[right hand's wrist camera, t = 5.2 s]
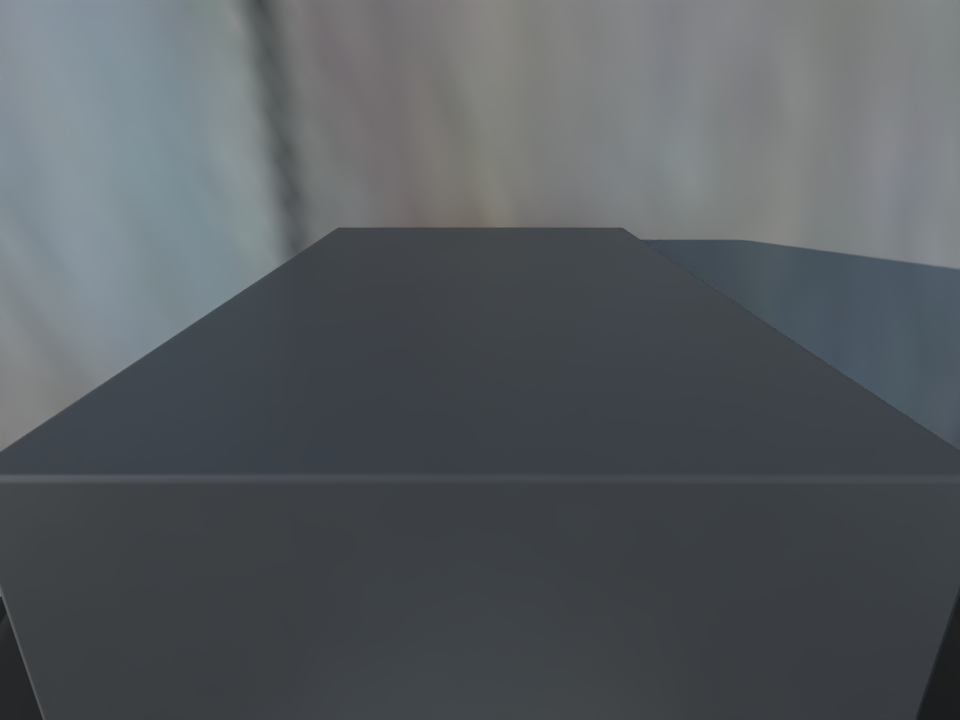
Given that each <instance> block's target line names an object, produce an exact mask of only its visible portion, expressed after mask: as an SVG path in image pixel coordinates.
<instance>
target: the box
mask: <svg viewBox="0 0 960 720" xmlns="http://www.w3.org/2000/svg"><path fill="white" fill-rule="evenodd" d="M0 593H1V596H2V599H3V602H4V605H5V608H6V611H7V614H8V617H9V620H10V623H11V626H12V629H13V632H14V635H15V638H16V641H17V644H18V647H19V650H20V653H21V656H22V659H23V662H24V665H25V668H26V671H27V674H28V677H29V680H30V683H31V685H32V688H33V691H34V694H35V697H36V700H37V703H38V706H39V709H40V712H41V715H42V718H43V720H918V718H919V715H920V712H921V709H922V706H923V703H924V700H925V697H926V694H927V691H928V688H929V685H930V682H931V679H932V676H933V673H934V670H935V667H936V664H937V661H938V658H939V655H940V652H941V649H942V646H943V643H944V641H945V638H946V635H947V632H948V629H949V626H950V623H951V620H952V617H953V614H954V611H955V608H956V605H957V602H958V599H959V596H960V451H959V450H957V449H956V448H954V447H953V446H951V445H950V444H948V443H947V442H945V441H944V440H942V439H941V438H939V437H938V436H936V435H935V434H933V433H932V432H930V431H929V430H927V429H926V428H924V427H923V426H921V425H920V424H918V423H917V422H915V421H914V420H912V419H911V418H909V417H908V416H906V415H904V414H903V413H901V412H900V411H898V410H897V409H895V408H894V407H892V406H891V405H889V404H888V403H886V402H885V401H883V400H882V399H880V398H879V397H877V396H876V395H874V394H873V393H871V392H870V391H868V390H867V389H865V388H864V387H862V386H861V385H859V384H858V383H856V382H855V381H853V380H852V379H850V378H849V377H847V376H846V375H844V374H842V373H841V372H839V371H838V370H836V369H835V368H833V367H832V366H830V365H829V364H827V363H826V362H824V361H823V360H821V359H820V358H818V357H817V356H815V355H814V354H812V353H811V352H809V351H808V350H806V349H805V348H803V347H802V346H800V345H799V344H797V343H796V342H794V341H793V340H791V339H790V338H788V337H787V336H785V335H784V334H782V333H781V332H779V331H777V330H776V329H774V328H773V327H771V326H770V325H768V324H767V323H765V322H764V321H762V320H761V319H759V318H758V317H756V316H755V315H753V314H752V313H750V312H749V311H747V310H746V309H744V308H743V307H741V306H740V305H738V304H737V303H735V302H734V301H732V300H731V299H729V298H728V297H726V296H725V295H723V294H722V293H720V292H719V291H717V290H715V289H714V288H712V287H711V286H709V285H708V284H706V283H705V282H703V281H702V280H700V279H699V278H697V277H696V276H694V275H693V274H691V273H690V272H688V271H687V270H685V269H684V268H682V267H681V266H679V265H678V264H676V263H675V262H673V261H672V260H670V259H669V258H667V257H666V256H664V255H663V254H661V253H660V252H658V251H657V250H655V249H653V248H652V247H650V246H649V245H647V244H646V243H644V242H643V241H641V240H640V239H638V238H637V237H635V236H634V235H632V234H631V233H629V232H628V231H626V230H625V229H623V228H337V229H335V230H334V231H332V232H331V233H329V234H328V235H326V236H325V237H323V238H322V239H320V240H319V241H317V242H316V243H314V244H313V245H311V246H310V247H308V248H307V249H305V250H304V251H302V252H301V253H299V254H298V255H296V256H295V257H293V258H292V259H290V260H289V261H287V262H286V263H284V264H283V265H281V266H280V267H278V268H277V269H275V270H274V271H272V272H271V273H269V274H268V275H266V276H265V277H263V278H262V279H260V280H258V281H257V282H255V283H254V284H252V285H251V286H249V287H248V288H246V289H245V290H243V291H242V292H240V293H239V294H237V295H236V296H234V297H233V298H231V299H230V300H228V301H227V302H225V303H224V304H222V305H221V306H219V307H218V308H216V309H215V310H213V311H212V312H210V313H209V314H207V315H206V316H204V317H203V318H201V319H200V320H198V321H197V322H195V323H194V324H192V325H191V326H189V327H188V328H186V329H185V330H183V331H181V332H180V333H178V334H177V335H175V336H174V337H172V338H171V339H169V340H168V341H166V342H165V343H163V344H162V345H160V346H159V347H157V348H156V349H154V350H153V351H151V352H150V353H148V354H147V355H145V356H144V357H142V358H141V359H139V360H138V361H136V362H135V363H133V364H132V365H130V366H129V367H127V368H126V369H124V370H123V371H121V372H120V373H118V374H117V375H115V376H114V377H112V378H111V379H109V380H108V381H106V382H105V383H103V384H101V385H100V386H98V387H97V388H95V389H94V390H92V391H91V392H89V393H88V394H86V395H85V396H83V397H82V398H80V399H79V400H77V401H76V402H74V403H73V404H71V405H70V406H68V407H67V408H65V409H64V410H62V411H61V412H59V413H58V414H56V415H55V416H53V417H52V418H50V419H49V420H47V421H46V422H44V423H43V424H41V425H40V426H38V427H37V428H35V429H34V430H32V431H31V432H29V433H28V434H26V435H25V436H23V437H21V438H20V439H18V440H17V441H15V442H14V443H12V444H11V445H9V446H8V447H6V448H5V449H3V450H2V451H0Z"/></svg>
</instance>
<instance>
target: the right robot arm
mask: <svg viewBox="0 0 960 720" xmlns="http://www.w3.org/2000/svg"><path fill="white" fill-rule="evenodd" d="M0 720H43V718H42V715H41V712H40V709H39V706H38V703H37V700H36V697H35V694H34V691H33V688H32V685H31V683H30V680H29V677H28V674H27V671H26V668H25V665H24V662H23V659H22V656H21V653H20V650H19V647H18V644H17V641H16V638H15V635H14V632H13V629H12V626H11V623H10V620H9V617H8V614H7V611H6V608H5V605H4V602H3V599H2V596H1V597H0ZM918 720H960V596H959V599H958V602H957V605H956V608H955V611H954V614H953V617H952V620H951V623H950V626H949V629H948V632H947V635H946V638H945V641H944V643H943V646H942V649H941V652H940V655H939V658H938V661H937V664H936V667H935V670H934V673H933V676H932V679H931V682H930V685H929V688H928V691H927V694H926V697H925V700H924V703H923V706H922V709H921V712H920V715H919V718H918Z"/></svg>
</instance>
